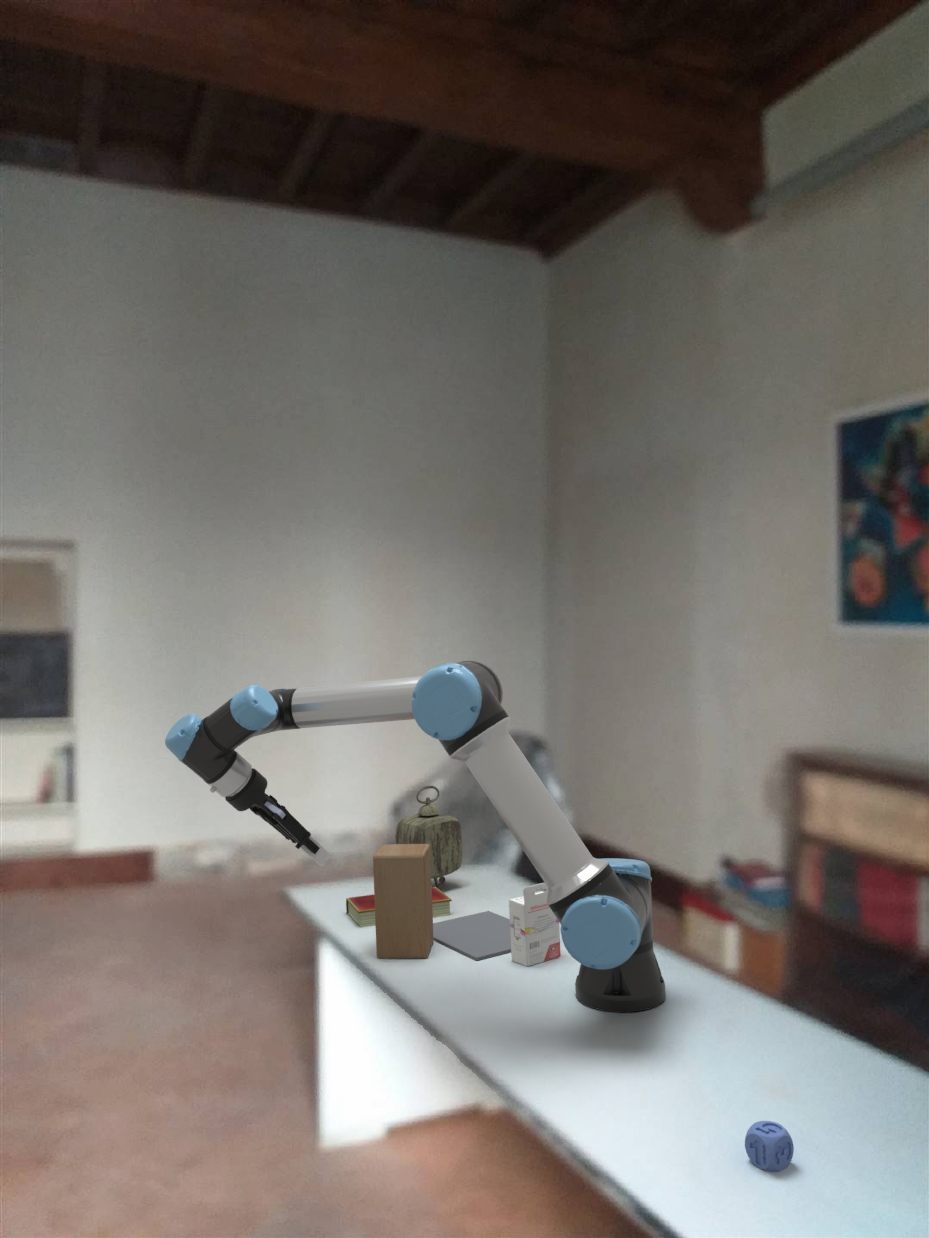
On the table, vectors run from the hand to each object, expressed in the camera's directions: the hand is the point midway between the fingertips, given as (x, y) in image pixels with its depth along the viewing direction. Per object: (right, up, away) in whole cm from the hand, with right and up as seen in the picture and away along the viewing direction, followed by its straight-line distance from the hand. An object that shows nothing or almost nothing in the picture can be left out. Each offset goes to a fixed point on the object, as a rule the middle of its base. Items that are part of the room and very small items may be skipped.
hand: (325, 860), depth 193 cm
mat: (+30, -19, +15) cm, 39 cm away
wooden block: (+15, -20, +8) cm, 26 cm away
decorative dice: (+62, -18, -73) cm, 98 cm away
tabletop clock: (+19, -20, +52) cm, 58 cm away
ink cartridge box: (+40, -19, 0) cm, 44 cm away
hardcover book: (+12, -20, +33) cm, 40 cm away
